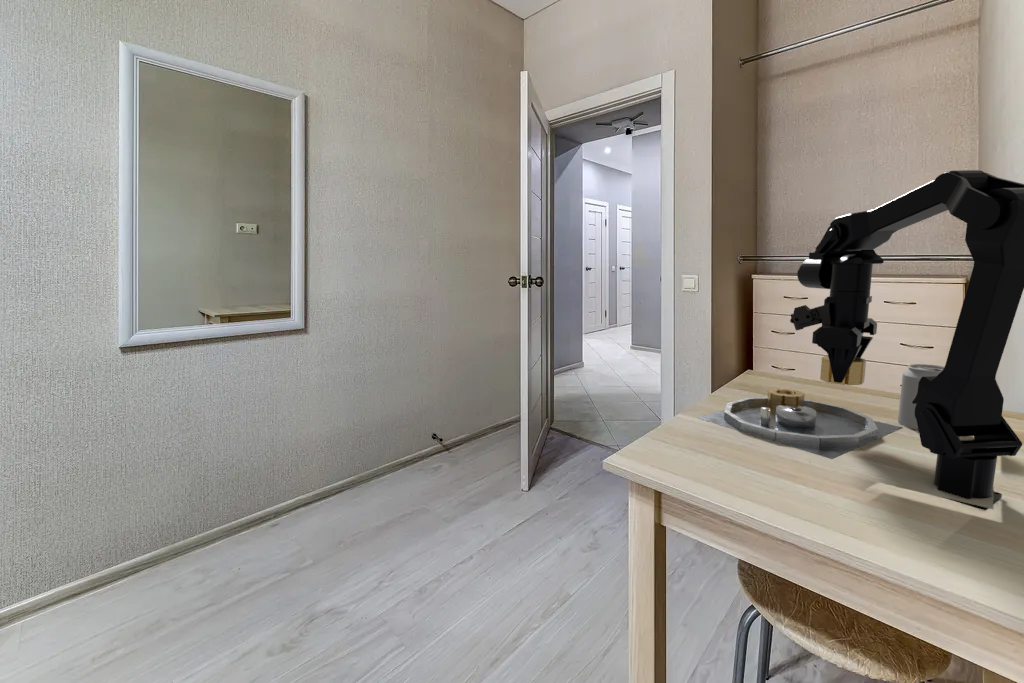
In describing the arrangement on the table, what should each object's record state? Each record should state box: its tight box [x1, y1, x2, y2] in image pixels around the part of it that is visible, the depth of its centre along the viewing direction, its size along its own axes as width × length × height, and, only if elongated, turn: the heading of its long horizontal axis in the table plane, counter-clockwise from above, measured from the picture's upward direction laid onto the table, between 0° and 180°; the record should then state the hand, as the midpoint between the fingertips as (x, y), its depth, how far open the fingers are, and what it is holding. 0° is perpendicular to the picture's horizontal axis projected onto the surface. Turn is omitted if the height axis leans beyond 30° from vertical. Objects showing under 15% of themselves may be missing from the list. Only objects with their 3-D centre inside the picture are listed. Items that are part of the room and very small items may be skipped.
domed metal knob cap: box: [775, 405, 816, 428], centre depth 92 cm, size 7×7×3 cm
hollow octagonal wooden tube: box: [819, 355, 867, 386], centre depth 86 cm, size 6×6×4 cm
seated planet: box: [766, 387, 806, 414], centre depth 99 cm, size 6×6×4 cm
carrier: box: [696, 394, 904, 460], centre depth 92 cm, size 25×25×4 cm
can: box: [897, 363, 945, 431], centre depth 88 cm, size 8×8×12 cm
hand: (842, 378), depth 86 cm, fingers closed on hollow octagonal wooden tube, 6 cm apart
